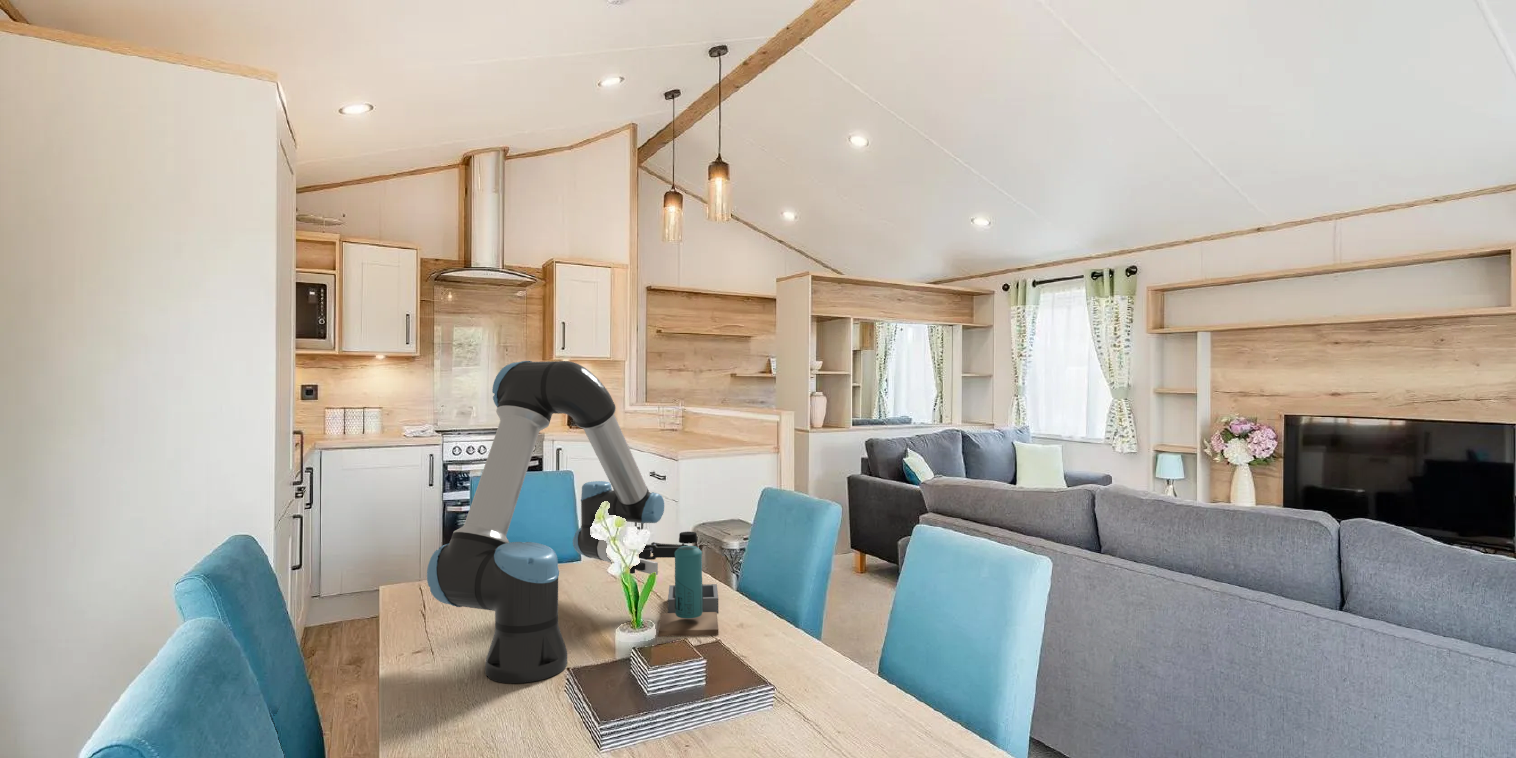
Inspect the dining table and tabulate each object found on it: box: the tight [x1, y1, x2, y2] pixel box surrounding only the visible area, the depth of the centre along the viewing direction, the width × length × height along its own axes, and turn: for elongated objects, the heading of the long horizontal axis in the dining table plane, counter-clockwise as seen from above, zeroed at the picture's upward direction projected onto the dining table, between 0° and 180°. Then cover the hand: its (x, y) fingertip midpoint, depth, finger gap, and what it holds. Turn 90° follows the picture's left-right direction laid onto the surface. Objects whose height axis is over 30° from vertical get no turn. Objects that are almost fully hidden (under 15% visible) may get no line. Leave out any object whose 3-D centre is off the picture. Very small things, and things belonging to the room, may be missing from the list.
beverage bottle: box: [673, 531, 704, 618], centre depth 165 cm, size 6×7×20 cm
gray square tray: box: [667, 583, 719, 614], centre depth 180 cm, size 12×12×4 cm
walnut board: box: [657, 612, 719, 638], centre depth 165 cm, size 13×12×1 cm
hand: (679, 563), depth 168 cm, fingers open, 13 cm apart
